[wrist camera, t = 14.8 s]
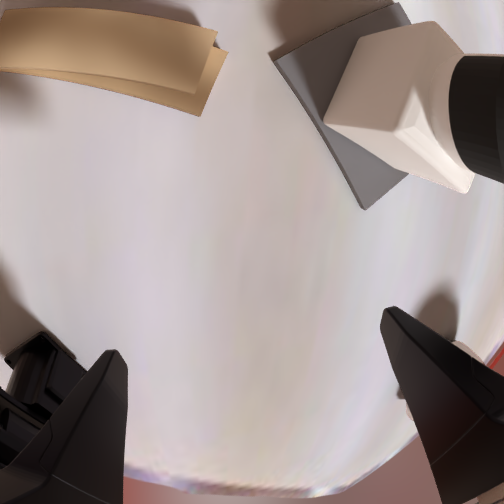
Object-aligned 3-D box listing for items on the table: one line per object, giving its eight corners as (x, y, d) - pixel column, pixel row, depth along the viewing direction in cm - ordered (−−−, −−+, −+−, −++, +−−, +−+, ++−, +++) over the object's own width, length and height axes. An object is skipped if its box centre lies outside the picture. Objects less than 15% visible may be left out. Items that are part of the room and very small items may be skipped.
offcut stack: (198, 116, 16) (202, 115, 14) (-1, 71, 11) (-20, 67, 9) (228, 48, 15) (237, 38, 12) (27, 6, 9) (12, -4, 7)
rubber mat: (360, 207, 21) (365, 210, 21) (272, 62, 16) (276, 60, 15) (452, 130, 21) (456, 131, 20) (393, 3, 15) (398, 2, 14)
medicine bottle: (394, 169, 20) (534, 229, 9) (319, 122, 17) (486, 153, 7) (425, 91, 18) (563, 112, 7) (357, 35, 15) (514, 9, 5)
